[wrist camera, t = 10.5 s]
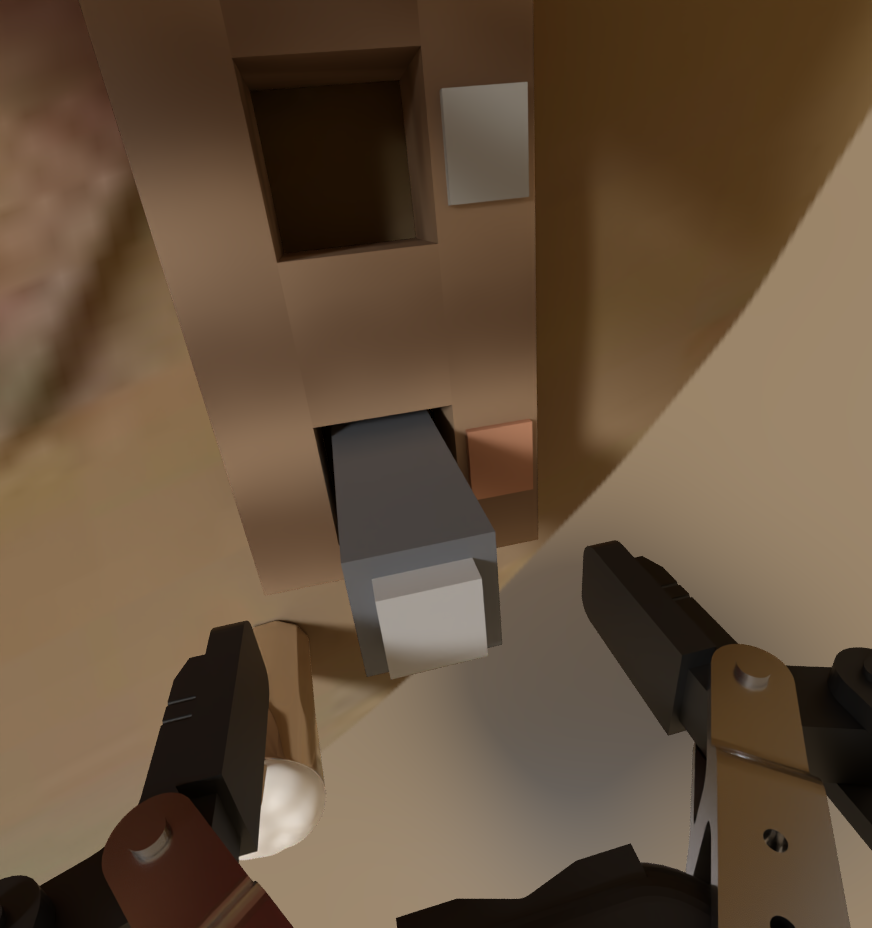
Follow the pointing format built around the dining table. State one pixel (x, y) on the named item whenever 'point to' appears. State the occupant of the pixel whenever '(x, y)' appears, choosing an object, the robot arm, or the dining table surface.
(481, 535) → the plug
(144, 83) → the port deck
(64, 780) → the dining table surface
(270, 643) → the milkshake
